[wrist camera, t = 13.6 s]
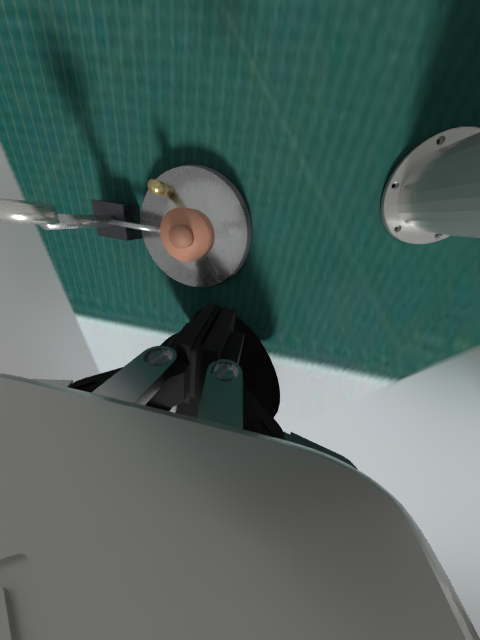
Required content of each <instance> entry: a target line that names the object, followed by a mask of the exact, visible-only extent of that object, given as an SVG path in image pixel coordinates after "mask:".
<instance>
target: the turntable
mask: <svg viewBox="0 0 480 640" xmlns="http://www.w3.org/2000/svg"><path fill="white" fill-rule="evenodd" d="M147 186H148V191H147V193H146V195H145V198H144V201H143V205H142V211H141V224H143V225H148V226H154V227H159V228H160V225H161V221H162V219H163V217H164V216H165V214H166V213H167V212H168V211H170V210H172V209H174V208H180V207H181V208H191V209H196V210H199V211H201V212H202V213H204V214H205V215H206V216H207V217H208V218H209V220H210V221H211V223H212V225H213V228H214V233H215V239H214V244H213V247H212V248H211V250H210V251H209V252H208V253H207V254H206V255H204V256H203V257H201V258H199V259H197V260H195V261H192V262H183V261H180V260H178V259H176V258H174V257H173V256H171V255H170V254H169V253H168V251H167V250H166V249H165V247H164V245H163V243H162V240H161V236H160V233H155V232H149V231H143V230H142V234H143V238H144V241H145V244H146V247H147V249H148V251H149V253H150V255H151V256H152V258H153V260H154V261H155V262H156V264H157V265H158V266H159V267H160V268H161V269H162V270H163V271H164V272H165V273H166V274H167V275H168V276H170V277H171V278H173V279H174V280H176V281H178V282H180V283H182V284H185V285H189V286H194V287H208V286H212V285H215V284H218V283H220V282H222V281H224V280H225V279H227V278H228V277H229V276H230V275H231V274H232V273H233V272H234V271H235V270H236V268H237V267H238V266H239V264H240V262H241V261H242V259H243V257H244V254H245V251H246V247H247V242H248V224H247V219H246V214H245V211H244V209H243V206H242V204H241V202H240V200H239V198H238V197H237V195H236V194H235V192H234V191H233V190H232V188H231V187H230V186H229V185H228V184H227V183H226V182H225V181H223V180H222V179H221V178H220V177H218V176H217V175H215V174H214V173H212V172H210V171H208V170H205V169H202V168H199V167H193V166H181V167H176V168H173V169H170V170H168V171H166V172H165V173H163V174H162V175H160V176H159V177H158V178H157V179H156V180H155V179H150V180H149V181H148V184H147Z"/></svg>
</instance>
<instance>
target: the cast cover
mask: <svg viewBox="0 0 480 640" xmlns="http://www.w3.org/2000/svg"><path fill="white" fill-rule="evenodd" d="M160 236H161V240H162V243H163V245H164V247H165V249H166V250H167V251H168V253H169V254H170V255H171V256H173V257H174V258H176V259H178V260H180V261H183V262H192V261H195V260H197V259H199V258H201V257H203V256H204V255H206V254H207V253H208V252H209V251H210V250H211V248H212V247H213V244H214V239H215V233H214V228H213V225H212V223H211V221H210V220H209V218H208V217H207V216H206V215H205V214H204V213H202V212H201V211H199V210H196V209H191V208H181V207H180V208H174V209H172V210H170V211H168V212H167V213H166V214H165V216H164V217H163V219H162V221H161V225H160Z"/></svg>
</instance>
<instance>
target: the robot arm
mask: <svg viewBox="0 0 480 640" xmlns="http://www.w3.org/2000/svg"><path fill="white" fill-rule="evenodd" d="M436 142H437V143H436ZM392 184H393V185H394V187H393V188H392ZM381 218H382V221H383V224H384V226H385V228H386V229H387V231H388V232H389V233H390V234H391V235H392V236H393V237H394V238H396V239H398V240H400V241H403V242H407V243H413V244H426V243H432V242H436V241H439V240H442V239H445V238H447V237H449V236H451V235H454V236H464V237H474V238H480V128H478V127H474V126H462V127H457V128H452V129H449V130H446V131H444V132H441V133H439V134H436V135H435V136H433V137H431V138H429V139H427V140H425V141H424V142H422V143H421V144H420V145H418V146H417V147H415V148H414V149H413V150H412V151H411V152H410V153H409V154H408V155H406V156H405V157H404V159H403V160H402V161H401V162H400V163H399V164H398V166H397V167H396V168H395V170H394V171H393V173H392V175H391V176H390V178H389V180H388V182H387V184H386V186H385V189H384V192H383V196H382V200H381ZM395 227H396V229H395V230H394V228H395ZM235 316H236V310H234V309H229V308H226V310H222V311H221V313H220V309H217V306H214V305H209V304H207V305H206V306H205V307H204V309H203V310H202V311H201V313H200V314H199V315H198V316H197V318H196V319H195V320H194V322H193V323H187V324H186V325H185V326H184V327H183V329H182V330H181V331H180V332H179V334H178V335H177V336H176V337H175V338H174V340H173V341H172V342H171V343H170V345H169V346H168V347H167V346H155V347H151V348H149V349H147V350H145V351H144V352H142V353H141V354H140V355H139V356H137V357H136V358H135V359H133V360H132V361H131V362H130V363H128V364H127V365H126V366H125V367H122V368H119V369H115V370H112V371H108V372H105V373H101V374H98V375H94V376H91V377H87V378H84V379H81V380H78V381H76V382H74V383H73V381H72V380H42V379H27V378H23V377H18V376H13V375H7V374H1V373H0V640H480V639H479V637H478V635H477V633H476V631H475V629H474V627H473V625H472V623H471V620H470V618H469V617H468V615H467V613H466V611H465V609H464V607H463V605H462V603H461V601H460V599H459V598H458V595H457V594H456V592H455V590H454V588H453V586H452V584H451V582H450V580H449V578H448V576H447V575H446V573H445V571H444V569H443V568H442V566H441V564H440V562H439V561H438V559H437V557H436V555H435V553H434V551H433V550H432V548H431V546H430V544H429V543H428V541H427V539H426V538H425V536H424V535H423V533H422V531H421V530H420V528H419V527H418V525H417V524H416V523H415V521H414V520H413V518H412V517H411V516H410V514H409V513H408V512H407V511H406V509H405V508H404V507H403V505H402V504H401V503H400V502H399V501H398V500H397V499H396V498H395V497H393V495H391V494H390V493H389V492H388V491H387V490H385V489H384V488H383V487H382V486H381V485H379V484H378V483H377V482H375V481H374V480H372V479H371V478H370V477H368V476H366V475H365V474H363V473H362V472H360V471H358V469H357V468H356V467H355V466H354V465H353V464H352V463H351V461H350V460H348V459H346V458H345V457H343V456H341V455H339V454H337V453H335V452H333V451H331V450H329V449H327V448H324V447H322V446H320V445H318V444H316V443H313V442H311V441H309V440H307V439H305V438H303V437H301V436H299V435H297V434H294V433H292V432H291V434H287V433H285V432H283V431H282V429H281V427H280V426H279V424H278V423H277V422H276V421H275V420H274V418H273V417H272V416H271V415H270V414H269V413H268V411H267V410H266V409H265V408H264V407H263V406H262V405H261V403H260V402H259V401H258V400H257V399H256V398H255V397H254V395H253V394H252V393H251V392H250V391H249V390H248V389H247V387H246V386H245V385H244V384H243V376H242V369H241V367H240V366H239V365H238V363H239V359H240V355H241V350H242V345H243V339H244V334H241V333H236V332H233V329H234V322H235ZM197 393H198V404H197V405H198V407H199V410H198V415H197V418H195V417H190V416H186V415H182V414H178V413H175V411H176V409H177V405H178V404H181V403H187V404H189V402H190V400H191V398H192V397H194V398H195V397H196V395H197Z"/></svg>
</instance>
